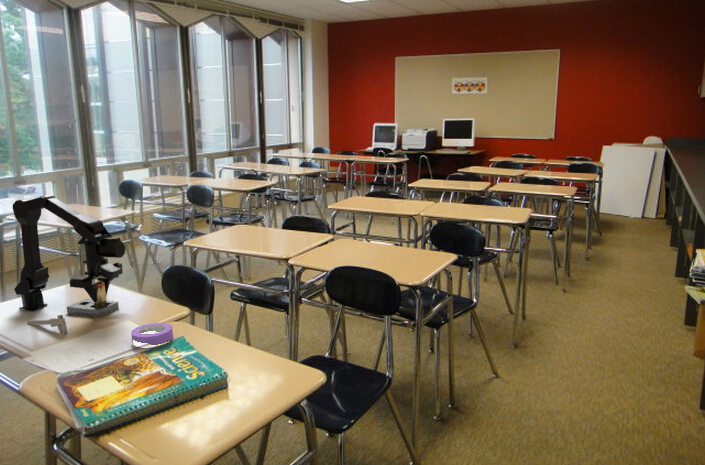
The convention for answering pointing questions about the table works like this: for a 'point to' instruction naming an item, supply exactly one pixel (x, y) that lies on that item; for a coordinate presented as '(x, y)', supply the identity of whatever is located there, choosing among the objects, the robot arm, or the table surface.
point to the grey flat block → (91, 308)
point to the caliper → (52, 323)
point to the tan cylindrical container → (100, 295)
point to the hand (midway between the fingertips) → (99, 299)
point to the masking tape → (153, 339)
